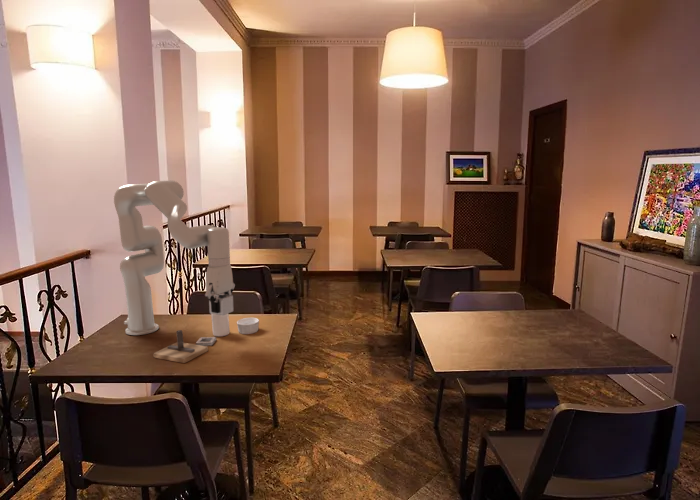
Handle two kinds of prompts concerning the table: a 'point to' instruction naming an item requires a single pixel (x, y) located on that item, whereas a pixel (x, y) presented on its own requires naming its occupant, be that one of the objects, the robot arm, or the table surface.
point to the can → (220, 325)
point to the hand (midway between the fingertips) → (221, 309)
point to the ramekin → (248, 325)
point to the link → (223, 304)
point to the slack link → (211, 339)
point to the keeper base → (181, 354)
